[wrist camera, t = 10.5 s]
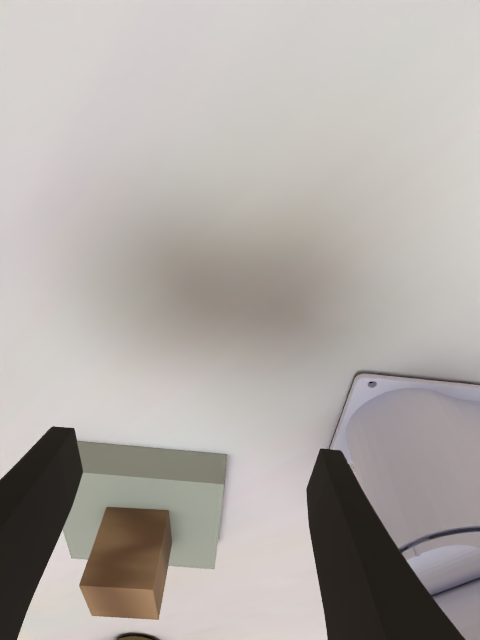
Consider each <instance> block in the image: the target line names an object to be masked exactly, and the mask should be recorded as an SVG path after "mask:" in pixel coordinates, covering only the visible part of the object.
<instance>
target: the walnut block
mask: <svg viewBox="0 0 480 640" xmlns="http://www.w3.org/2000/svg"><path fill="white" fill-rule="evenodd" d="M171 547H172V535H171V526H170V517H169V510H155V509H138V508H120V507H106V510H105V513H104V515H103V518H102V521H101V524H100V527H99V530H98V533H97V536H96V539H95V541H94V544H93V547H92V550H91V553H90V556H89V559H88V562H87V564H86V567H85V570H84V573H83V576H82V579H81V582H80V585H79V586H80V589H81V591H82V593H83V596H84V598H85V601H86V603H87V605H88V608H89V610H90V612H91V615H92V616H104V617H121V618H139V619H156V620H158V619H159V614H160V608H161V603H162V597H163V591H164V586H165V580H166V575H167V569H168V564H169V558H170V552H171Z"/></svg>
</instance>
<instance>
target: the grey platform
mask: <svg viewBox="0 0 480 640" xmlns="http://www.w3.org/2000/svg"><path fill="white" fill-rule="evenodd" d="M77 444H78V449H79V453H80V458H81V463H82V468H83V474H82V478H81V481H80V484H79V487H78V491H77V494H76V497H75V500H74V503H73V506H72V509H71V511H70V513H69V516H68V518H67V520H66V523H65V525H64V527H63V532H64V535H65V539H66V542H67V545H68V548H69V552H70V555H71V558H75V559H89V556H90V553H91V550H92V547H93V544H94V541H95V539H96V536H97V533H98V530H99V527H100V524H101V521H102V518H103V515H104V513H105V510H106V507H120V508H138V509H155V510H169V517H170V526H171V535H172V547H171V552H170V558H169V564H168V566H178V567H191V568H204V569H215V560H216V552H217V544H218V535H219V527H220V518H221V510H222V501H223V493H224V485H225V471H226V457H227V454H217V453H206V452H195V451H184V450H172V449H161V448H150V447H139V446H127V445H116V444H105V443H93V442H82V441H77Z"/></svg>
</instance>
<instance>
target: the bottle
mask: <svg viewBox="0 0 480 640" xmlns="http://www.w3.org/2000/svg"><path fill="white" fill-rule="evenodd" d="M118 640H152V639H150V638H147V637H144V636H127V637H123V638H119V639H118Z"/></svg>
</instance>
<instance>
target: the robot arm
mask: <svg viewBox="0 0 480 640" xmlns="http://www.w3.org/2000/svg"><path fill="white" fill-rule="evenodd" d="M371 381H374V382H373V383H369V382H371ZM349 464H352V465H353V468H354V472H355V475H354V473H353V471H352V469H351V467H350V465H349ZM82 474H83V468H82V463H81V458H80V453H79V449H78V444H77V439H76V434H75V430H74V428H64V427H52V428H50V429H49V430H48V431H47V432H46V433H45V434H44V435H43V436H42V438H41V439H40V440H39V441H38V442H37V443H36V444H35V445H34V446H33V447H32V448H31V449H30V450H29V451H28V452H27V453H26V454H25V455H24V456H23V457H22V458H21V460H20V461H19V462H18V463H17V464H16V465H15V466H14V467H13V468H12V469H11V470H10V471H9V472H8V473H7V474H6V475H5V476H4V477H3V478H2V479H1V480H0V640H17V638H18V635H19V632H20V629H21V626H22V623H23V621H24V618H25V615H26V612H27V610H28V607H29V605H30V602H31V600H32V597H33V595H34V592H35V590H36V588H37V586H38V583H39V581H40V579H41V577H42V575H43V572H44V570H45V568H46V566H47V563H48V561H49V559H50V557H51V554H52V552H53V550H54V548H55V545H56V543H57V541H58V539H59V536H60V534H61V532H62V529H63V527H64V525H65V523H66V520H67V518H68V516H69V513H70V511H71V509H72V506H73V503H74V500H75V497H76V494H77V491H78V487H79V484H80V481H81V478H82ZM355 476H356V477H355ZM307 505H308V519H309V528H310V534H311V540H312V546H313V552H314V557H315V563H316V569H317V574H318V580H319V585H320V591H321V597H322V602H323V608H324V614H325V621H326V628H327V636H328V640H480V385H473V384H463V383H453V382H443V381H434V380H424V379H414V378H404V377H394V376H384V375H374V374H359V375H358V376H356V377H355V379H354V382H353V385H352V387H351V390H350V393H349V396H348V399H347V401H346V404H345V407H344V410H343V413H342V416H341V418H340V421H339V424H338V427H337V430H336V432H335V435H334V438H333V441H332V444H331V446H330V449H320V451H319V454H318V457H317V460H316V463H315V466H314V469H313V472H312V474H311V477H310V480H309V483H308V486H307Z"/></svg>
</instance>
